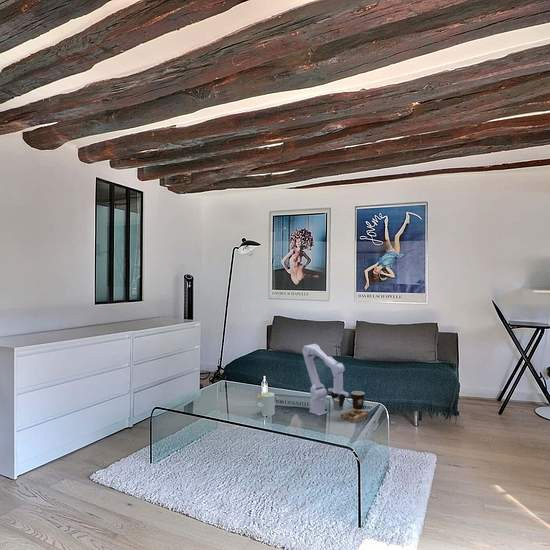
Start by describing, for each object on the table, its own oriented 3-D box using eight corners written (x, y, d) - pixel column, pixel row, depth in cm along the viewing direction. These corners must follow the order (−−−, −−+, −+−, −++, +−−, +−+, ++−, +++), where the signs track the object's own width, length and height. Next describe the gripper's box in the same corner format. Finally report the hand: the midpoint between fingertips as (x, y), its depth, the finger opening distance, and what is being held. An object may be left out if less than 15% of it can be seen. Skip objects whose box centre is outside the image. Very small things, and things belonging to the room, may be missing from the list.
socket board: (340, 418, 259) (340, 414, 259) (354, 412, 268) (354, 408, 268) (354, 423, 251) (354, 418, 250) (368, 416, 260) (368, 412, 260)
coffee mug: (365, 406, 279) (365, 391, 279) (364, 410, 271) (364, 395, 270) (347, 404, 282) (347, 390, 282) (346, 409, 274) (346, 394, 273)
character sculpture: (268, 407, 279) (267, 388, 279) (282, 411, 273) (282, 390, 272) (249, 417, 263) (249, 396, 262) (264, 421, 256) (264, 399, 256)
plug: (333, 409, 255) (333, 398, 255) (338, 407, 258) (337, 396, 258) (339, 411, 252) (338, 399, 252) (343, 409, 255) (343, 398, 255)
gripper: (324, 382, 257) (325, 404, 258) (343, 387, 246) (343, 410, 247) (332, 380, 262) (332, 401, 262) (350, 384, 251) (351, 407, 252)
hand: (338, 405), depth 255 cm, fingers closed on plug, 4 cm apart
